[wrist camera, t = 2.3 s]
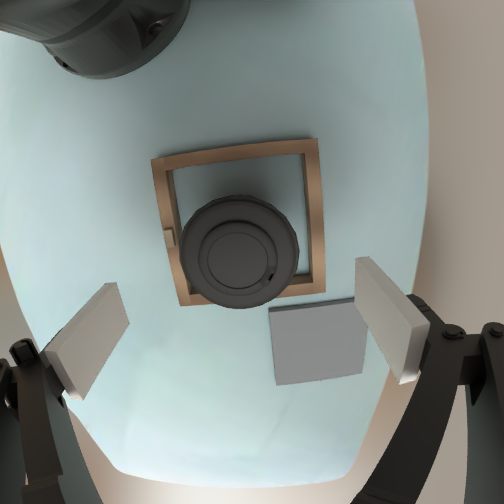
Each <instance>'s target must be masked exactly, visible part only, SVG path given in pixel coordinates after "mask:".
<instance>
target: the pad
mask: <svg viewBox="0 0 504 504" xmlns="http://www.w3.org/2000/svg"><path fill="white" fill-rule="evenodd" d="M354 299H355V298H351V299H344V300H336V301H329V302H321V303H313V304H305V305H297V306H288V307H279V308H269V318H270V327H271V337H272V347H273V356H274V366H275V376H276V386H277V385H287V384H295V383H303V382H311V381H318V380H325V379H331V378H338V377H343V376H349V375H355V374H360V373H362V370H363V363H364V356H365V348H366V340H367V331H368V327H367V325H366V323H365V321H364V320H363V318H362V316H361V314H360V313H359V311H358V309H357V308H356V306H355V304H354Z"/></svg>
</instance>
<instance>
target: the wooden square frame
mask: <svg viewBox="0 0 504 504" xmlns="http://www.w3.org/2000/svg"><path fill="white" fill-rule="evenodd" d="M300 153H301V156H302V166H303V177H304V189H305V202H306V215H307V231H308V248H309V268H310V274H306V275H297V276H293V278H292V280H291V282H290V284H289V285H288V286H287V287H286V288H285V289H284V290H283V291H282V293H281V294H280V295H279V296H278V297H276V298H281V297H290V296H299V295H307V294H315V293H324V292H326V284H325V243H324V220H323V202H322V187H321V174H320V162H319V151H318V140H317V138H316V139H300V140H286V141H275V142H265V143H255V144H246V145H238V146H230V147H223V148H216V149H209V150H202V151H196V152H190V153H184V154H179V155H173V156H168V157H162V158H157V159H152V160H151V166H152V172H153V178H154V185H155V191H156V196H157V202H158V207H159V213H160V218H161V223H162V228H163V234H164V239H165V244H166V248H167V252H168V257H169V262H170V266H171V270H172V275H173V279H174V283H175V287H176V292H177V296H178V300H179V304H180V306H192V305H205V304H215V303H213V302H210V301H209V300H207V299H206V298H204V297H203V296H202V295H200V294H199V293H198V292H196V291H195V289H194V288H193V287H192V286H191V284H190V283H189V282H188V280H187V279H186V278H185V275H184V272H183V270H182V267H181V264H180V261H179V242H180V239H181V236H182V229H181V224H180V218H179V213H178V207H177V201H176V195H175V189H174V183H173V176H172V169H178V168H184V167H190V166H196V165H203V164H209V163H216V162H224V161H231V160H239V159H247V158H256V157H266V156H276V155H287V154H300Z"/></svg>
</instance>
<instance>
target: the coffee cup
mask: <svg viewBox="0 0 504 504" xmlns="http://www.w3.org/2000/svg"><path fill="white" fill-rule="evenodd" d="M299 252H300V251H299V246H298V241H297V236H296V233H295V231H294V229H293V228H292V226H291V224H290V223H289V221H288V219H287V218H286V217H285V216H284V215H283V214H282V213H281V212H280V211H278V210H277V209H276V208H275V207H274V206H273V205H271V204H269V203H267V202H264V201H262V200H259V199H257V198H255V197H252V196H250V195H237V196H235V195H231V196H228V197H224V198H220V199H216V200H212V201H211V202H209V203H208V204H206V205H205V206H203V207H202V208H200V209H198V210H197V211H196V212H195V213H194V215H193V216H192V217H191V218H190V220H189V221H188V222H187V224H186V225H185V227H184V230H183V233H182V236H181V239H180V242H179V261H180V264H181V267H182V270H183V272H184V275H185V278H186V279H187V280H188V282H189V283H190V284H191V286H192V287H193V288H194V289H195V291H196V292H198V293H199V294H200V295H202V296H203V297H204V298H206V299H207V300H209V301H210V302H213V303H215V304H217V305H220V306H223V307H226V308H233V309H246V308H253V307H256V306H261V305H263V304H265V303H267V302H269V301H271V300H273V299H274V298H276V297H278V296H279V295H280V294H281V293H282V291H283V290H284V289H285V288H286V287H287V286H288V285H289V284H290V282H291V280H292V278H293V276H294V274H295V272H296V270H297V267H298V259H299Z"/></svg>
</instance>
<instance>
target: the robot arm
mask: <svg viewBox="0 0 504 504" xmlns="http://www.w3.org/2000/svg"><path fill="white" fill-rule="evenodd" d="M189 3H190V0H0V31H4V32H8V33H11V34H15V35H18V36H21V37H25V38H28V39H31V40H34V41H37V42H40V43H42V45H43V46H44V47H45V48H46V49H47V51H48V52H49V53H50V54H51V55H52V56H53V57H54V59H55V60H56V61H57V62H58V64H59V65H60V66H61V67H63V68H64V69H65V70H67V71H69V72H71V73H73V74H76V75H79V76H82V77H86V78H90V79H108V78H113V77H117V76H121V75H124V74H126V73H129V72H131V71H133V70H135V69H137V68H139V67H141V66H142V65H144V64H146V63H147V62H149V61H150V60H151V59H153V58H154V57H155V56H156V55H158V54H159V53H160V52H161V51H162V50H163V49H164V48H165V47H166V46H167V45H168V44H169V43H170V42H171V41H172V40H173V38H174V37H175V36H176V34H177V33H178V31H179V30H180V28H181V26H182V25H183V23H184V20H185V18H186V16H187V13H188V9H189ZM354 304H355V306H356V308H357V309H358V311H359V313H360V314H361V316H362V318H363V320H364V321H365V323H366V325H367V327H368V328H369V330H370V332H371V334H372V335H373V337H374V339H375V341H376V343H377V344H378V346H379V348H380V350H381V352H382V353H383V355H384V357H385V359H386V361H387V363H388V364H389V366H390V368H391V370H392V372H393V374H394V375H395V378H396V379H397V381H398V383H399V384H403V383H407V382H411V381H414V380H416V378H417V374H418V371H419V369H420V371H421V375H420V377H419V380H418V382H417V385H416V387H415V390H414V392H413V394H412V397H411V399H410V402H409V404H408V406H407V408H406V410H405V413H404V415H403V417H402V419H401V421H400V423H399V425H398V427H397V429H396V431H395V433H394V435H393V437H392V439H391V441H390V443H389V445H388V446H387V449H386V451H385V452H384V454H383V456H382V457H381V459H380V461H379V463H378V464H377V466H376V468H375V469H374V471H373V473H372V475H371V476H370V477H369V479H368V481H367V483H366V484H365V485H364V487H363V488H362V490H361V491H360V492H359V493H358V494H357V495H356V497H355V498H354V499H353V501H352V502H351V503H350V504H415V503H416V501H417V499H418V497H419V495H420V493H421V490H422V488H423V486H424V484H425V482H426V479H427V477H428V475H429V472H430V470H431V468H432V465H433V463H434V460H435V458H436V455H437V452H438V450H439V447H440V444H441V441H442V438H443V436H444V432H445V430H446V426H447V423H448V420H449V417H450V413H451V410H452V406H453V402H454V399H455V395H456V391H457V386H458V385H465V391H466V403H467V426H468V456H467V476H466V489H465V498H464V504H504V325H503V324H500V323H496V322H490V323H487V324H485V325H484V327H483V329H482V332H481V334H469V335H467V334H466V332H465V331H464V329H462V328H461V327H459V326H457V325H453V324H445V323H444V322H443V321H442V320H441V319H440V318H439V317H438V315H437V314H436V313H435V312H434V311H433V310H431V308H430V307H429V306H427V304H426V303H425V302H424V301H423V300H422V299H421V298H419V297H418V296H415V295H414V294H410V295H405V294H404V293H403V292H402V291H401V290H400V289H399V287H398V286H397V285H396V284H395V283H394V282H393V281H392V280H391V279H390V278H389V277H388V276H387V275H386V274H385V273H384V271H383V270H382V269H381V268H380V267H379V266H378V265H377V264H376V263H375V262H374V261H373V260H372V259H371V258H370V257H369V256H368V257H360V258H356V267H355V299H354ZM129 324H130V323H129V320H128V317H127V314H126V311H125V308H124V305H123V302H122V299H121V296H120V293H119V289H118V286H117V283H116V282H113V283H105V284H104V285H103V286H102V287H101V288H100V289H99V290H98V291H97V292H96V293H95V294H94V295H93V296H92V297H91V299H90V300H89V301H88V302H87V303H86V304H85V305H84V306H83V307H82V308H81V309H80V310H79V311H78V312H77V313H76V315H75V316H74V317H73V318H72V319H71V320H70V321H69V322H68V323H67V324H66V325H65V327H64V328H62V329H61V330H60V331H59V332H58V333H57V334H56V335H55V337H53V338H52V340H51V341H50V342H49V343H48V344H47V345H46V346H45V348H44V349H43V350H42V351H41V352H40V353H39V354H38V352H37V350H36V348H35V346H34V344H33V342H32V340H31V339H29V338H28V339H26V338H25V339H22V340H20V341H18V342H16V343H14V344H13V345H12V346H11V348H10V350H9V352H10V354H11V355H12V357H13V359H14V361H15V363H16V364H17V366H15V367H10V365H9V363H8V362H7V360H6V359H4V358H3V359H0V504H103V502H102V500H101V498H100V496H99V494H98V492H97V489H96V487H95V485H94V483H93V480H92V478H91V476H90V473H89V471H88V468H87V466H86V463H85V461H84V458H83V456H82V453H81V450H80V447H79V445H78V442H77V439H76V436H75V433H74V430H73V426H72V423H71V420H70V416H69V413H68V409H67V405H66V402H65V399H64V397H63V396H62V393H63V391H64V390H66V392H67V393H68V395H69V397H70V398H71V399H76V400H82V401H83V400H84V398H85V397H86V395H87V393H88V391H89V390H90V388H91V386H92V384H93V383H94V381H95V379H96V378H97V376H98V374H99V372H100V371H101V369H102V367H103V366H104V364H105V362H106V361H107V359H108V358H109V356H110V354H111V353H112V351H113V349H114V348H115V346H116V344H117V343H118V341H119V340H120V338H121V336H122V335H123V333H124V332H125V330H126V329H127V327H128V325H129ZM5 400H6V401H7V403H8V404H9V406H8V407H7V405H6V403H5ZM26 474H27V478H28V485H26V486H25V479H26Z"/></svg>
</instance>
